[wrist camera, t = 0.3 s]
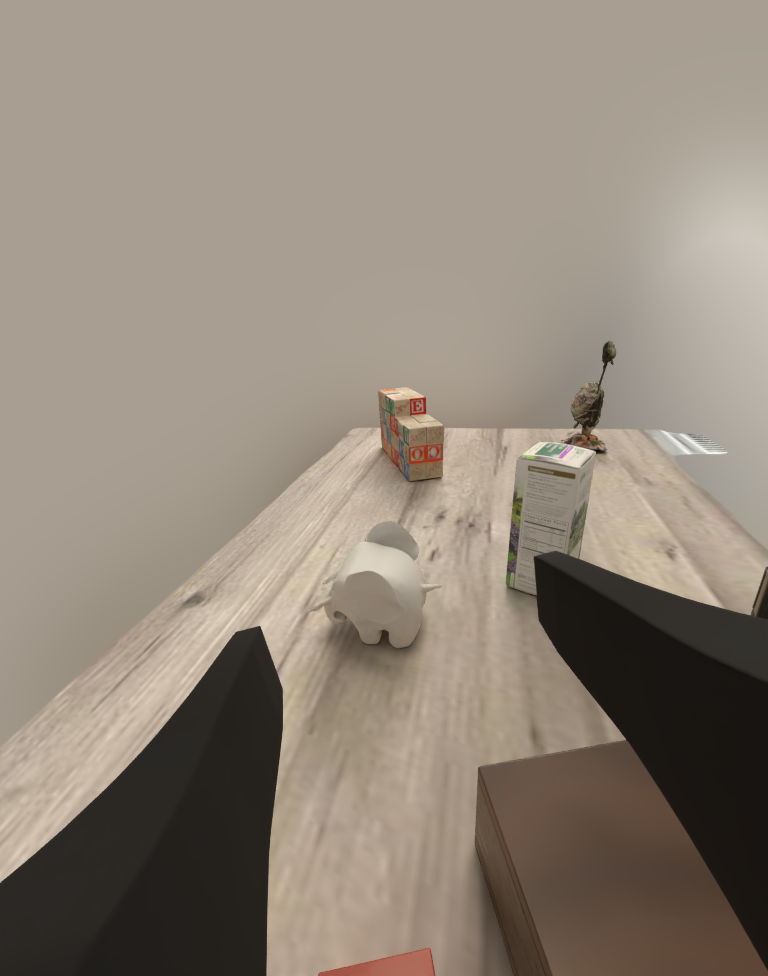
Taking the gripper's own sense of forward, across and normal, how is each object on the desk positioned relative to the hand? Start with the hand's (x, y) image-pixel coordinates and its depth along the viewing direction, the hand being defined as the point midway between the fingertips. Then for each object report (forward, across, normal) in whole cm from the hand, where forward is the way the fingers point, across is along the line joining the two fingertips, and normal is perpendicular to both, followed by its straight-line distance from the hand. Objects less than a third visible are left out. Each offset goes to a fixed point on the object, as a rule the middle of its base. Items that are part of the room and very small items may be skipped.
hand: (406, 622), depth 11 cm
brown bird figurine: (+69, -46, +23) cm, 86 cm away
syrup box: (+28, -17, +22) cm, 39 cm away
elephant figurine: (+25, +1, +19) cm, 32 cm away
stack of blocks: (+70, -12, +18) cm, 74 cm away
